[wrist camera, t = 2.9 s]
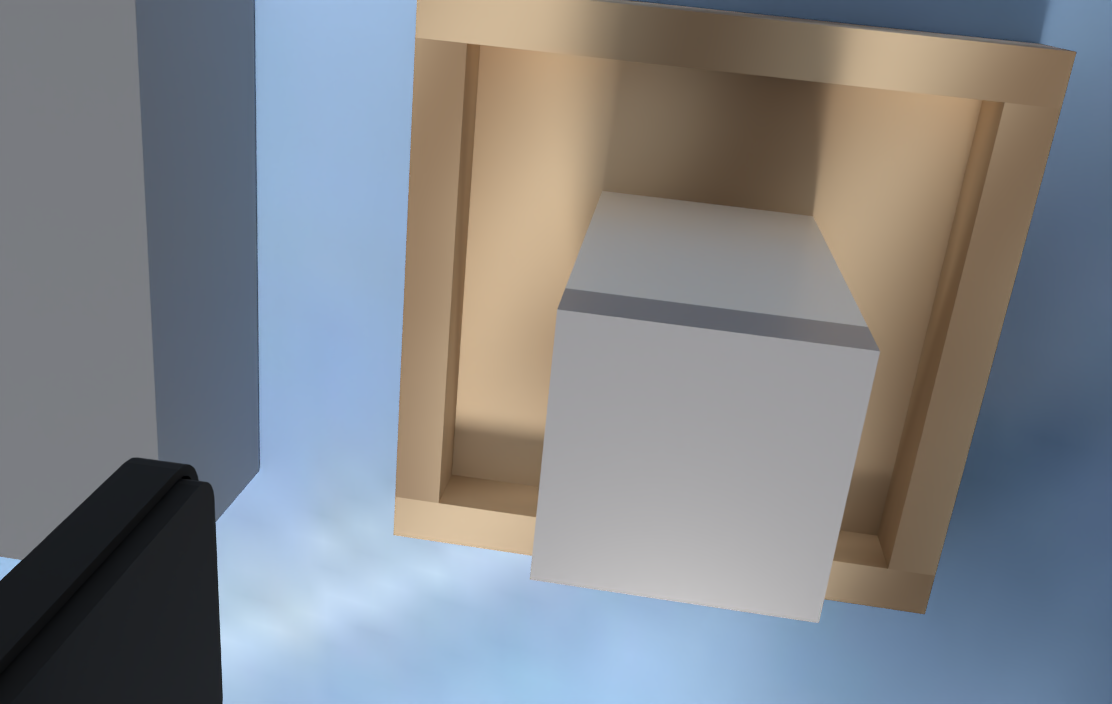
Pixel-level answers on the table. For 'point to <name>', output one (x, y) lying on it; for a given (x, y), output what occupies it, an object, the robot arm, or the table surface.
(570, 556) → the plug
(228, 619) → the table surface
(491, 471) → the tray
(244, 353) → the block
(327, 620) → the table surface
